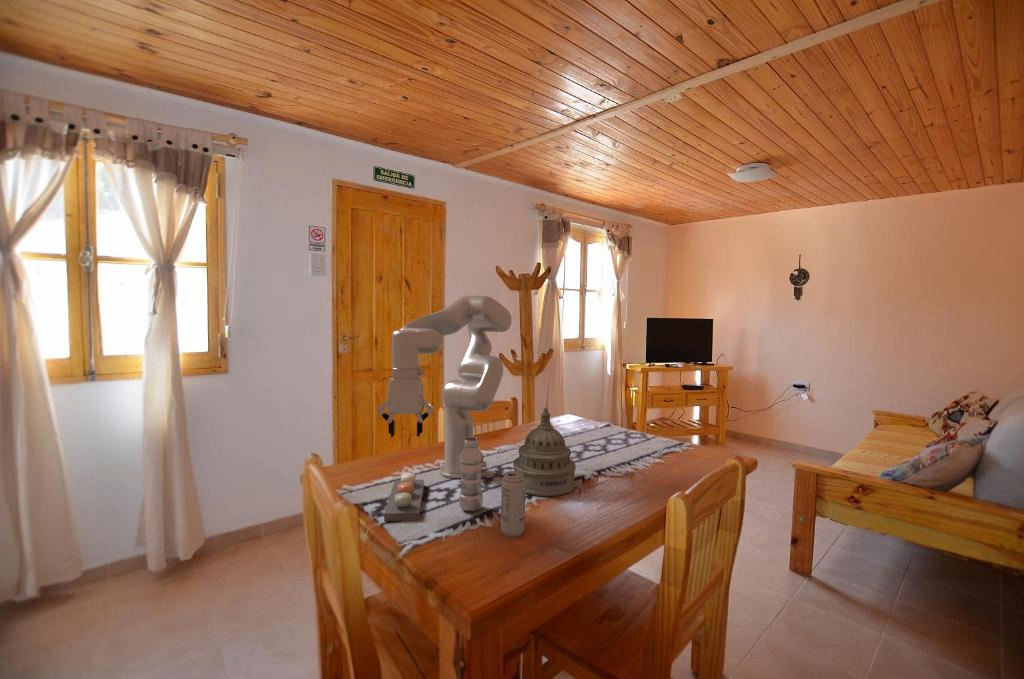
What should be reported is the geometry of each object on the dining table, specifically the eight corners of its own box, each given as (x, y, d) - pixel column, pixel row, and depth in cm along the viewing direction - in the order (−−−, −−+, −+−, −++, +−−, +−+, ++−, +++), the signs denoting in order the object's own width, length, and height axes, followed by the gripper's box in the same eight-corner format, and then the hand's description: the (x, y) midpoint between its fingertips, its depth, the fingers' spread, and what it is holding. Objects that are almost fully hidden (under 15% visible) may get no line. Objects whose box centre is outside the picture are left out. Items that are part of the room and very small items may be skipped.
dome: (506, 412, 140) (522, 399, 159) (504, 492, 142) (521, 470, 161) (572, 417, 134) (581, 403, 154) (570, 501, 136) (579, 476, 156)
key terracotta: (414, 488, 136) (414, 481, 136) (413, 494, 132) (413, 487, 132) (398, 489, 136) (398, 482, 135) (397, 495, 131) (397, 488, 131)
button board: (424, 485, 146) (424, 479, 146) (418, 519, 123) (418, 512, 123) (394, 486, 145) (394, 480, 145) (384, 521, 122) (384, 513, 122)
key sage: (412, 499, 129) (412, 492, 129) (410, 506, 124) (410, 498, 124) (395, 499, 128) (395, 492, 128) (393, 506, 124) (393, 499, 124)
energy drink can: (525, 537, 115) (526, 478, 113) (501, 538, 114) (502, 479, 113) (523, 526, 120) (524, 470, 119) (500, 526, 120) (501, 470, 119)
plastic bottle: (460, 503, 133) (461, 435, 132) (484, 504, 133) (484, 436, 131) (457, 514, 127) (457, 442, 125) (481, 514, 127) (482, 443, 125)
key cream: (416, 478, 144) (416, 472, 143) (415, 484, 139) (415, 477, 139) (401, 479, 143) (401, 473, 143) (400, 484, 139) (400, 478, 138)
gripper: (437, 371, 136) (436, 431, 137) (376, 371, 134) (376, 432, 135) (436, 375, 128) (435, 438, 130) (371, 375, 126) (372, 440, 128)
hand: (405, 435), depth 132 cm, fingers open, 6 cm apart
